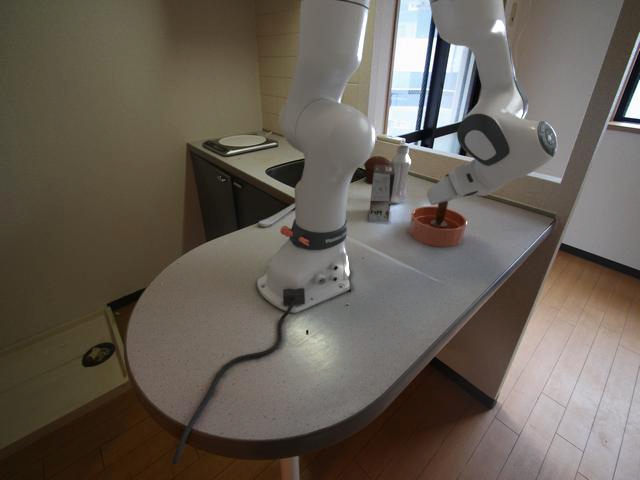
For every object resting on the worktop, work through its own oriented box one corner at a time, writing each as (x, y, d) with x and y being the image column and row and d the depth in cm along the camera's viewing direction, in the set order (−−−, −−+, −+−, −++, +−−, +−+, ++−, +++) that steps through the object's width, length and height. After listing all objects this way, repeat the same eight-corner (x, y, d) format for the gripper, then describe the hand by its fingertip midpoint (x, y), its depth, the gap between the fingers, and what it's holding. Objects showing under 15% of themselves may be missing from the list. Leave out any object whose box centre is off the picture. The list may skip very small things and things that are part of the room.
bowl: (446, 255, 85) (451, 235, 82) (398, 234, 94) (401, 216, 91) (470, 236, 94) (475, 218, 91) (424, 219, 103) (428, 202, 100)
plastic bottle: (408, 203, 114) (418, 147, 104) (395, 207, 111) (403, 150, 101) (395, 197, 119) (403, 143, 109) (382, 201, 116) (389, 145, 105)
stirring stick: (440, 237, 89) (454, 177, 80) (426, 231, 91) (438, 173, 82) (447, 232, 91) (461, 173, 82) (433, 226, 94) (446, 169, 85)
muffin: (359, 183, 131) (361, 159, 126) (365, 174, 140) (368, 152, 135) (388, 187, 128) (391, 162, 123) (392, 178, 137) (395, 155, 132)
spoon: (318, 190, 123) (317, 184, 122) (334, 194, 119) (334, 188, 118) (251, 227, 99) (250, 219, 98) (270, 234, 95) (269, 226, 94)
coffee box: (388, 223, 100) (395, 174, 92) (368, 221, 101) (373, 172, 93) (388, 211, 108) (395, 165, 100) (369, 209, 109) (374, 163, 101)
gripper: (504, 158, 79) (463, 183, 92) (447, 170, 71) (410, 196, 83) (515, 181, 78) (472, 203, 91) (458, 196, 70) (419, 218, 82)
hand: (442, 199), depth 87 cm, fingers closed on stirring stick, 2 cm apart
